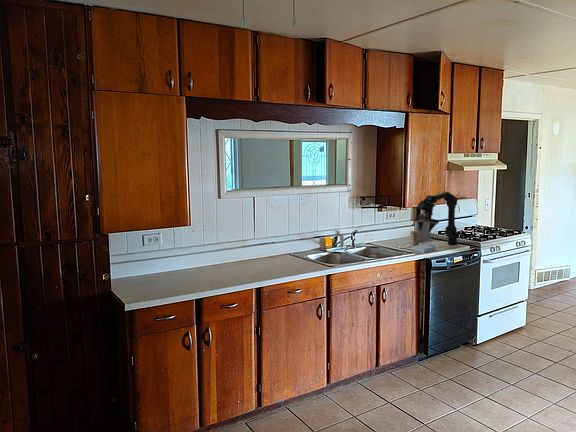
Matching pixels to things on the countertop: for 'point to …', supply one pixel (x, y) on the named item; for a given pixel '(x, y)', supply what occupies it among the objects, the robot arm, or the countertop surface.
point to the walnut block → (414, 238)
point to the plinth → (424, 248)
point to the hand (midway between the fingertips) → (424, 231)
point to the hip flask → (423, 231)
